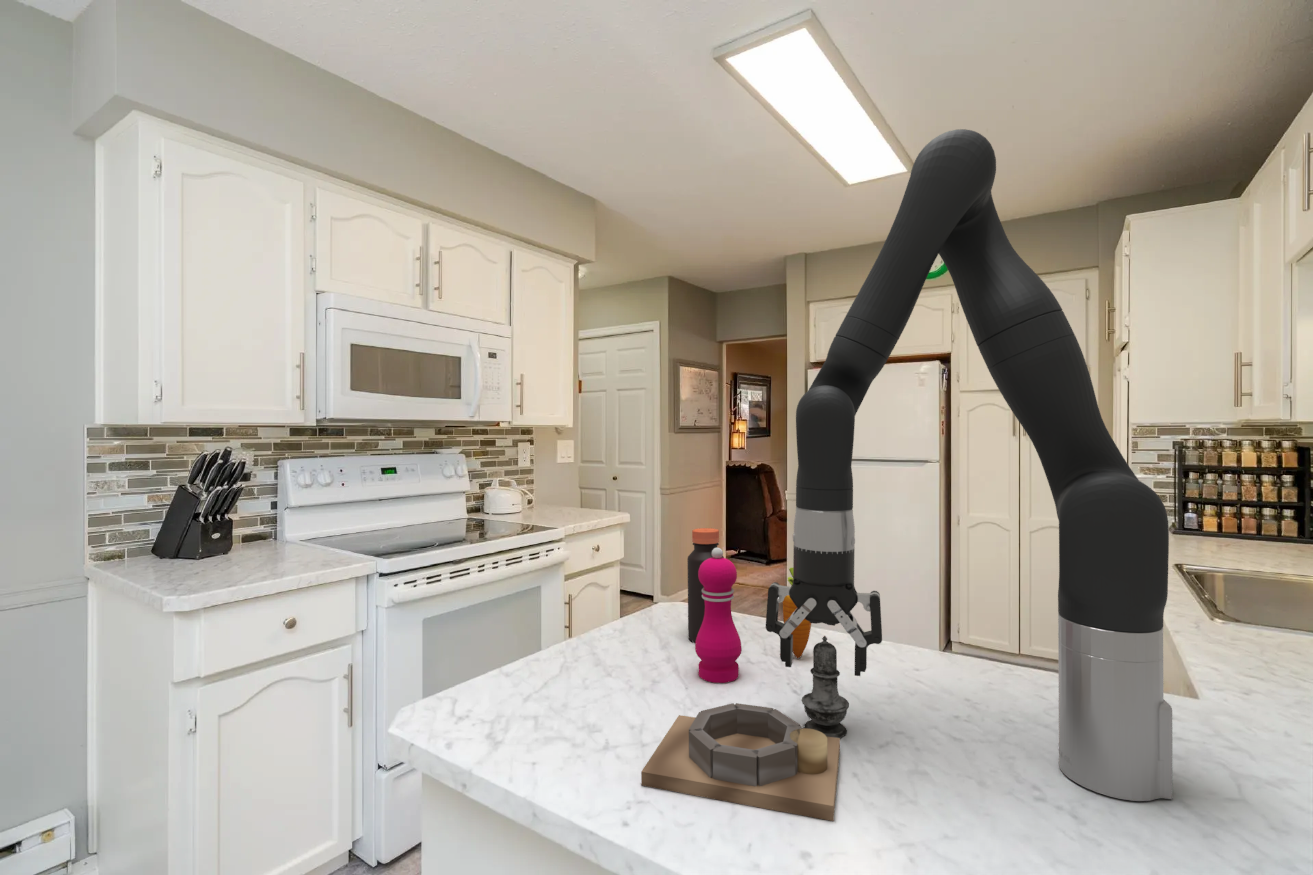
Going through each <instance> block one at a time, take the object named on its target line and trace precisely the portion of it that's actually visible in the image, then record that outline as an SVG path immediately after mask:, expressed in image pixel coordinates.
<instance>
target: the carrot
mask: <svg viewBox="0 0 1313 875" xmlns="http://www.w3.org/2000/svg"><path fill="white" fill-rule="evenodd" d="M788 570H789V572H790V575H791V576H788V577H787V581H788V583H789V584H790V586H792V584H793V567H789V568H788ZM796 609H797V607H796V605H795V604H794V602H793V601H792V600H791V598H790V596H789V595H787V596H785V598H784V600H783V602H782V615H783V616H782V618H783V623H785V622H786V621H787V620H788V619H789V617H790V616H791V615H792V613H793V612H794V611H795V610H796ZM811 630H812V623H810V621H807V620H806V619H805V618H804V620H803V621H802V622H801V623H800V624H799V625H798V626H797V627H796V628H795V629H794V631H793V632H792V633H791V634H792V635H793V657H795V658H796V659H798V660H799V659H800V658H801V657H802V655H803V654H804V651H805V649H806V648H807V645H808V642H809V639H810V635H811Z"/></svg>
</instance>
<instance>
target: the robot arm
mask: <svg viewBox="0 0 1313 875" xmlns="http://www.w3.org/2000/svg"><path fill="white" fill-rule="evenodd" d="M996 173H997V158H996V154H995V150H994V147H993V146H992V144H991V142H990V141H989V140H988V139H987V138H986V137H985V136H984V135H983V134H981V133H979V132H977V131H975V130H971V129H966V128H965V129H961V128H960V129H952V130H948V131H946V132H943V133H941V134H939V135H937V136H935V137H934V138H932V139H931V140H930V141H929V142H928V143H927V144H925V146H924V147H923V148H922V149H921V151H920V152H919V153H918V154H917V156H916V158H915V159H914V162H913V165H912V167H911V171H910V175H909V179H908V182H907V186H906V188H905V191H904V194H903V197H902V200H901V203H900V205H899V208H898V211H897V213H896V215H895V217H894V220H893V223H892V224H891V228H890V230H889V232H888V235H887V237H886V239H885V241H884V242H883V246H882V247H881V250H880V252H879V253H878V255H877V258H876V259H875V261H874V264H873V266H872V267H871V268H870V271H869V272H868V274H867V277H865V280H864V282H863V284H862V286H861V287H860V289H859V291H858V293H857V295H856V297H855V298H854V301H853V302H852V304H851V305H850V308H849V310H848V312H846V315H845V317H844V319H843V320H842V322H841V324H840V326H839V328H838V329H837V331H836V334H835V336H834V337H833V340H832V342H831V344H830V346H829V349H828V351H827V354H826V358H825V361H824V363H823V364H822V366H821V368H820V370H819V371H818V373H817V375H816V376H815V378H814V380H813V381H812V384H811V385H810V387H809V388H808V390H807V391H806V392H805V393H804V394H803V395H802V396H801V397H800V400H798V403H797V406H796V411H795V430H796V432H795V434H796V435H795V436H796V450H797V451H796V452H797V463H798V464H797V465H798V466H797V472H796V479H795V480H796V481H795V482H796V483H795V514H794V520H793V521H794V522H793V534H792V542H793V558H792V559H793V561H792V563H793V565H792V568H793V577H792V578H793V584H792V585H790V586H789V585H781V584H780V583H778V582H776V581H775V582H772V583H771V584H770V585H769V587H768V590H767V600H766V614H765V616H766V618H765V630H766V631H767V632H769V633H774V634H776V635H778V636H779V639H780V640H779V642H780V645H779V652H780V653H779V658H780V662H782V663H784V666H785V667H786V668H792V665H793V658H794V654H793V635H792V634H791V633H792V632H793V631H794V629H795V628H796V627H797V626H798V625H799V624H800V623H801V622H802V621H803V620H804V618H805V619H806V620H807V621H810V623H811V624H825V625H828V626H836V625H839V624H840V625H841V627H842V628H843V629H844V631H845V632H846V633H848V635H849V636H850V637H851V638H852V639H853V642H854V676H857V677H861V674H862V673H865V672H866V670H867V660H868V659H867V657H868V656H867V655H868V654H867V653H868V652H867V651H868V650H867V649H868V647H869V646H870V645H874V644H876V645H880V644H881V643H882V642H883V630H882V628H883V627H882V610H881V609H882V608H881V595H880V592H879V591H878V590H871V592H857V590H856V587H855V549H856V548H855V544H856V537H855V536H856V535H855V532H856V531H855V530H856V528H855V519H854V510H853V509H854V477H853V470H852V469H853V468H852V462H853V452H854V451H853V450H854V439H855V438H854V437H855V424H856V423H855V421H856V419H855V418H856V415H857V413H858V411H859V409H860V407H861V405H862V403H863V400H864V398H865V396H866V395H867V393H868V392H869V389H870V387H871V385H872V383H873V381H874V380H875V379H876V377H877V376H878V375H879V374H880V373H881V371H882V370H883V368H884V367H885V364H886V363H887V361H888V359H889V358H890V356H891V354H892V353H893V350H894V349H895V347H896V346H897V345H896V344H897V343H898V341H899V339H900V338H901V335H902V334H903V332H904V329H905V328H906V326H907V324H908V322H909V320H910V318H911V315H912V313H913V311H914V308H915V306H916V304H917V301H918V299H919V296H920V295H921V292H922V289H923V287H924V284H925V283H926V281H927V278H928V276H929V273H930V271H931V269H932V267H933V266H934V264H935V262H936V259H937V257H938V255H939V256H940V258H941V260H942V262H943V263H944V265H945V267H946V268H947V271H948V272H949V275H950V277H951V280H952V281H953V282H952V283H953V285H954V288H955V291H956V293H957V298H958V300H959V303H960V306H961V308H962V311H963V313H964V316H965V319H966V321H967V324H968V327H969V328H970V331H971V333H972V336H973V339H974V341H975V344H976V346H977V347H978V350H979V352H980V354H981V357H982V359H983V361H984V363H985V365H986V368H987V370H988V372H989V374H990V376H991V378H992V379H993V382H994V383H995V385H996V387H997V389H998V390H999V392H1000V394H1001V396H1002V398H1003V399H1004V401H1005V402H1006V405H1008V408H1009V409H1010V410H1011V412H1012V413H1013V415H1014V416H1015V417H1016V420H1017V421H1018V422H1019V424H1020V425H1021V427H1022V428H1023V430H1024V431H1025V433H1026V435H1027V437H1028V438H1029V439H1030V441H1031V443H1032V446H1033V447H1034V448H1035V450H1036V453H1037V455H1038V458H1039V460H1040V462H1041V463H1040V464H1041V466H1042V468H1043V471H1044V474H1045V477H1046V480H1047V484H1048V485H1049V489H1050V492H1051V494H1052V495H1051V496H1052V499H1053V501H1054V505H1055V510H1056V516H1057V519H1058V544H1059V545H1058V561H1059V562H1058V565H1059V566H1058V590H1057V591H1058V592H1057V605H1058V606H1057V608H1058V609H1057V611H1058V613H1057V614H1058V616H1057V618H1058V619H1057V621H1058V622H1057V624H1058V625H1057V626H1058V628H1057V629H1058V631H1057V632H1058V633H1057V635H1058V636H1057V637H1058V639H1057V640H1058V644H1057V645H1058V652H1057V653H1058V656H1057V657H1058V743H1057V744H1058V745H1057V750H1058V766H1059V768H1060V771H1062V773H1063V774H1064V776H1066V777H1067V778H1068V779H1070V780H1071V781H1073V782H1075V783H1076V784H1078V785H1080V786H1081V787H1083V788H1086V789H1087V790H1090V791H1093V792H1095V793H1098V794H1100V795H1104V796H1107V797H1111V798H1115V799H1119V800H1125V801H1132V802H1133V801H1136V802H1147V801H1148V802H1150V801H1153V800H1157V799H1166V800H1173V794H1174V793H1173V788H1174V787H1173V782H1174V781H1173V776H1174V775H1173V708H1172V706H1171V704H1170V703H1168V702H1167V700H1165V699H1164V615H1165V614H1164V612H1165V608H1166V605H1167V602H1168V595H1169V594H1168V591H1169V553H1170V552H1169V550H1170V549H1169V547H1170V544H1169V541H1170V537H1169V536H1170V534H1169V532H1170V531H1169V530H1170V529H1169V520H1168V513H1167V509H1166V507H1165V505H1164V503H1163V500H1162V499H1161V497H1160V496H1159V495H1158V494H1157V493H1156V491H1154V489H1152V488H1151V487H1150V486H1148V485H1147V484H1146V483H1144V482H1142V481H1141V480H1139V478H1138V477H1137V476H1136V474H1135V473H1134V471H1133V470H1132V469H1131V467H1130V465H1129V464H1128V463H1127V461H1126V459H1125V457H1124V456H1123V454H1122V453H1121V451H1120V449H1119V447H1118V446H1117V444H1116V442H1115V441H1114V440H1113V438H1112V436H1111V433H1110V432H1109V430H1108V428H1107V427H1106V426H1107V425H1106V424H1105V422H1104V420H1103V418H1102V414H1101V412H1100V408H1099V404H1098V401H1097V397H1096V393H1095V390H1094V385H1093V381H1092V378H1091V375H1090V371H1089V367H1088V365H1087V362H1086V359H1085V356H1084V353H1083V351H1082V348H1081V346H1080V344H1079V341H1078V339H1077V336H1076V335H1075V332H1074V330H1073V328H1072V326H1071V324H1070V322H1069V320H1068V318H1067V316H1066V315H1065V312H1064V310H1063V308H1062V306H1061V305H1060V302H1059V301H1058V300H1057V298H1056V296H1055V295H1054V293H1053V292H1052V291H1051V289H1050V288H1049V287H1048V286H1047V284H1046V283H1045V282H1044V281H1043V279H1042V278H1041V277H1039V275H1038V274H1037V273H1036V272H1035V271H1034V270H1033V269H1032V268H1031V266H1029V265H1028V264H1027V263H1026V262H1025V260H1023V258H1022V257H1021V256H1020V255H1019V253H1017V251H1016V250H1015V249H1014V247H1013V246H1012V244H1011V241H1010V240H1009V238H1008V236H1007V233H1006V231H1005V229H1004V226H1003V225H1002V222H1001V219H1000V217H999V215H998V211H997V208H996V205H995V203H994V198H993V195H992V190H993V186H994V182H995V179H996V178H995V177H996ZM787 595H789V596H790V598H791V600H792V601H793V602H794V604H795V605H796V607H797V609H796V610H795V611H794V612H793V613H792V615H791V616H790V617H789V619H788V620H787V621H786V622H785V623H784V622H781V621H779V611H780V610H779V608H780V607H779V605H780V603H783V600H784V598H785V596H787ZM858 603H860V604H862V606H863V607H862V608H863V610H865V611H866V612H870V613H869V614H870V628H871V630H868V631H864V630H863V628H862V626H861V625H860V624H859V623H858V620H857V619H856V617H855V616H854V614H853V612H851V611H852V610H853V609H854V608H855V607H856V606H857V604H858Z"/></svg>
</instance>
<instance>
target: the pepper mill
mask: <svg viewBox="0 0 1313 875" xmlns="http://www.w3.org/2000/svg"><path fill="white" fill-rule="evenodd" d="M712 556H713V557H712V558H709V559H707V560H705V561H704V562H703V563H702V564H701V565H700V568H699V571H698V577H699V581H700V582H701V584H702V585H703V586H704V588H703V589H702V592H703V593H702V598H703V599H704V601H705V614H704V619H703V622H702V625H701V627H700V630H699V632H698V634H697V638H696V643H695V642H694V643H695V644H694V648H695V649H694V650H695V654H696V656H697V657H698V658H699V659H700V661H699V663H698V664H697V665H698V677H699V678H700V679H702V680H703V681H706V682H708V683H713V684H725V683H731V682H734V681H736V680H737V679H738V678H739V674H740V673H739V671H740V670H739V668H740V667H739V663H738V662H737V660H738V659H739V657H740V656H741V654H742V649H743V648H742V641H741V638H740V634H739V631H738V630H737V627H736V624H735V623H734V619H733V616H732V615H733V614H732V608H731V607H732V600H733V599H734V598H735V596H734V592H735V590H734V589H733V588H732V587H733V585H735V583H736V582H737V579H738V574H737V573H738V572H737V567H736V566H735V564H734V563H733V562H732V561H731V560H730V559H729V558H725V557H724V551H723V550H722V548H720V547H717V548H714V549H713V550H712ZM722 556H723V557H724V558H722Z"/></svg>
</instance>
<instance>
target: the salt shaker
mask: <svg viewBox="0 0 1313 875" xmlns="http://www.w3.org/2000/svg"><path fill="white" fill-rule="evenodd" d="M821 640H822V641H821V642H818V643H815V645H814V646H813V652H812V657H813V662H812V664H813V666H812V668H810V674H811V675H812V690H811V692H808V693H806V694H804V695H803V696H802V697H801V703H802V705H803V708H804V711H805V714H806V715H807V717H808V718H809V720H808V721H806V722H805V723H804V725H803V728H807V729H814V730H817V731H820V732H822V733H823V734H825V735H826V736H827V737H834V738H840V739H843V738H844V737H846V736H847V734H848V729H847V727H846V726H845V725H844V724H842V722H843V721H844V720H845V718H846V716H847V711H848V709H849V708H850V702H849V700H847V698H845V697H843V695H840V694H839V690H838V677H839V676H840V675H841V671H840V670H838V668H837V667H838V664H837V662H838V660H837V659H838V658H837V657H838V656H837V653H838V652H837V648H836V647H835V645H833V644H832V643H831V642H828V641H827V640H828V637H827V636H826V635H823V636H822V637H821Z"/></svg>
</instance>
